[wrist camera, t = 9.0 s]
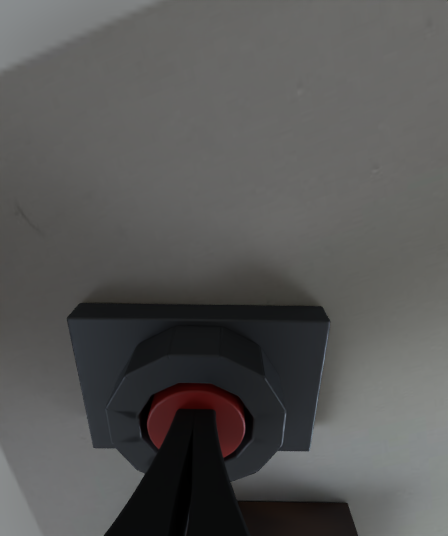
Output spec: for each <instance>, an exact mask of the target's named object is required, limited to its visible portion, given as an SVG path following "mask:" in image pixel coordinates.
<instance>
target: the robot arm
mask: <svg viewBox="0 0 448 536" xmlns="http://www.w3.org/2000/svg"><path fill="white" fill-rule="evenodd" d="M188 520H189V521H188ZM187 526H188V529H187ZM186 533H187V536H251V535H250V533H249V530H248V528H247V526H246V523H245V521H244V518H243V516H242V513H241V510H240V508H239V505H238V502H237V500H236V497H235V494H234V491H233V488H232V485H231V482H230V479H229V476H228V473H227V469H226V465H225V462H224V458H223V454H222V451H221V446H220V442H219V437H218V431H217V424H216V411H215V410H213V409H178V410H177V411H176V413H175V416H174V419H173V421H172V423H171V426H170V428H169V430H168V432H167V435H166V437H165V439H164V441H163V443H162V445H161V447H160V448H159V450H158V452H157V454H156V456H155V458H154V460H153V462H152V463H151V465H150V467H149V469H148V470H147V472H146V474H145V475H144V477H143V479H142V480H141V482H140V484H139V485H138V487H137V488H136V490H135V492H134V493H133V495H132V496H131V498H130V499H129V501H128V502H127V504H126V505H125V507H124V508H123V510H122V511H121V513H120V514H119V516H118V517H117V518H116V520H115V521H114V523H113V524H112V525H111V527H110V528H109V529H108V531H107V532H106V533H105V535H104V536H186Z"/></svg>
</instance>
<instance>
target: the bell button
mask: <svg viewBox="0 0 448 536" xmlns="http://www.w3.org/2000/svg"><path fill="white" fill-rule="evenodd" d="M178 409H213V410H215V411H216V424H217V431H218V437H219V442H220V446H221V451H222V454H223V458H224V457H226V456H227V455H229V454H231V453H232V452H233V451H234V450H235V449H236V448H237V447H238V446H239V445H240V443H241V441H242V440H243V437H244V434H245V412H244V403H243V402H242V401H241V399H240V398H239V396H237V395H235V394H232V393H230V392H228V391H226V390H224V389H222V388H220V387H217V386H215V385H213V384H211V383H177V384H175V385H173V386H171V387H169V388H166V389H164V390H162V391H160V392H158V393H155V394H154V397H153V401H152V404H151V408H150V411H149V415H148V419H147V429H148V434H149V436H150V439H151V440H152V442H153V443H154V445H155V446H156V447H157V448H158V449H159V448H160V447H161V445H162V443H163V441H164V439H165V437H166V435H167V432H168V430H169V428H170V426H171V423H172V421H173V419H174V416H175V413H176V411H177V410H178Z"/></svg>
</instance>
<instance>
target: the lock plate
mask: <svg viewBox="0 0 448 536" xmlns="http://www.w3.org/2000/svg"><path fill="white" fill-rule="evenodd" d="M237 502H238V505H239V508H240V510H241V513H242V516H243V518H244V521H245V523H246V526H247V528H248V530H249V533H250V535H251V536H358V534H357V531H356V528H355V525H354V522H353V519H352V516H351V513H350V509H349V506H348V504H347V503H310V502H246V501H237ZM188 521H189V520H188ZM187 529H188V526H187ZM186 536H187V533H186Z"/></svg>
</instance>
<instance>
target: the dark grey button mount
mask: <svg viewBox="0 0 448 536" xmlns="http://www.w3.org/2000/svg"><path fill="white" fill-rule="evenodd" d="M67 322H68V327H69V331H70V336H71V341H72V346H73V351H74V356H75V360H76V365H77V370H78V375H79V380H80V385H81V389H82V394H83V399H84V404H85V409H86V414H87V419H88V423H89V428H90V433H91V438H92V443H93V447H94V448H116V449H117V450H118V451H119V452H120V453H121V454H122V455H123V456H124V457H125V458H126V459H127V460H128V461H129V462H130V463H131V464H132V465H133V466H134V467H135V469H136V470H139V471H140V472H143V473H145V474H146V472H147V470H148V469H149V467H150V465H151V463H152V462H153V460H154V458H155V456H156V454H157V452H158V450H159V449H158V448H157V447H156V446H155V445H154V443H153V442H152V440H151V439H150V436H149V434H148V429H147V419H148V415H149V411H150V408H151V404H152V401H153V397H154V394H155V393H158V392H160V391H162V390H164V389H166V388H169V387H171V386H173V385H175V384H177V383H211V384H213V385H215V386H217V387H220V388H222V389H224V390H226V391H228V392H230V393H232V394H235V395H237V396H239V398H240V399H241V401H242V402H243V403H244V412H245V434H244V437H243V440H242V441H241V443H240V445H239V446H238V447H237V448H236V449H235V450H234V451H233V452H232V453H231V454H229V455H227V456H226V457H224V462H225V465H226V469H227V473H228V476H229V479H230V482H232V481H235V480H237V479H240V478H243V477H246V476H248V475H251V474H254V473H256V472H257V471H259V470H260V469H261V468H262V467H263V466H264V465H265V464H266V463H267V461H268V460H269V459H270V458H271V457H272V456H273V455H274V454H275V453H276V452H277V451H310V446H311V440H312V434H313V428H314V421H315V415H316V409H317V403H318V396H319V390H320V384H321V378H322V372H323V365H324V359H325V353H326V347H327V340H328V334H329V328H330V320H329V318H328V316H327V314H326V313H325V311H324V309H323V307H321V306H248V305H172V304H97V303H80V304H79V305H78V306H77V307H76V308H75V309H74V310H73V311H72V313H71V314H70V315H69V316H68V317H67Z"/></svg>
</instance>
